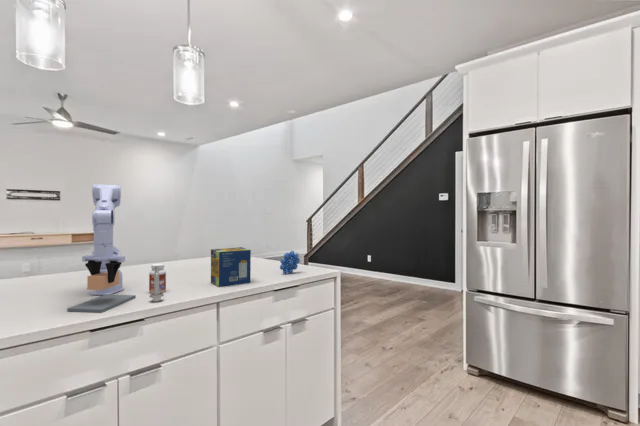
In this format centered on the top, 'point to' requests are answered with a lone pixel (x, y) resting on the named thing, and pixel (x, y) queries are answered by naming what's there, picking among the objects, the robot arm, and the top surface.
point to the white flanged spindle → (156, 287)
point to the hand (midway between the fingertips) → (103, 282)
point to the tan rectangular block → (101, 281)
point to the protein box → (230, 266)
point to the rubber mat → (101, 303)
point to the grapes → (289, 262)
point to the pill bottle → (161, 278)
